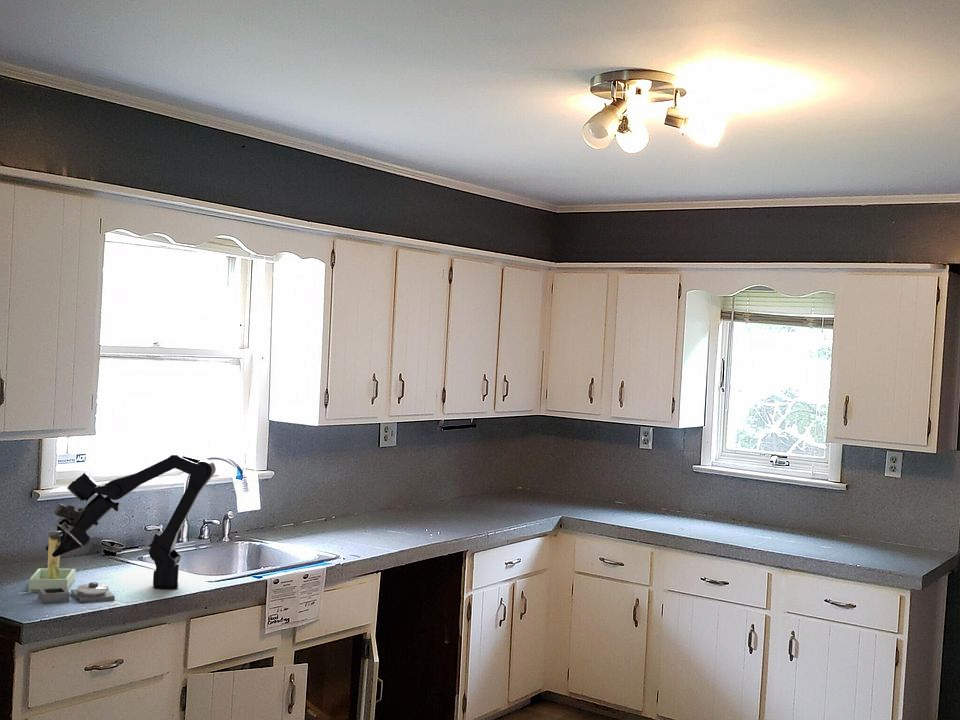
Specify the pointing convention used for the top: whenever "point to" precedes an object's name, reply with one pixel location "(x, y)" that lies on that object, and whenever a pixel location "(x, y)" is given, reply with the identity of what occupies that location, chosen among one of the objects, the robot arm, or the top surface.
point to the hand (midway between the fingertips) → (49, 552)
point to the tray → (51, 580)
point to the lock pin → (53, 544)
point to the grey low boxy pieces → (77, 594)
